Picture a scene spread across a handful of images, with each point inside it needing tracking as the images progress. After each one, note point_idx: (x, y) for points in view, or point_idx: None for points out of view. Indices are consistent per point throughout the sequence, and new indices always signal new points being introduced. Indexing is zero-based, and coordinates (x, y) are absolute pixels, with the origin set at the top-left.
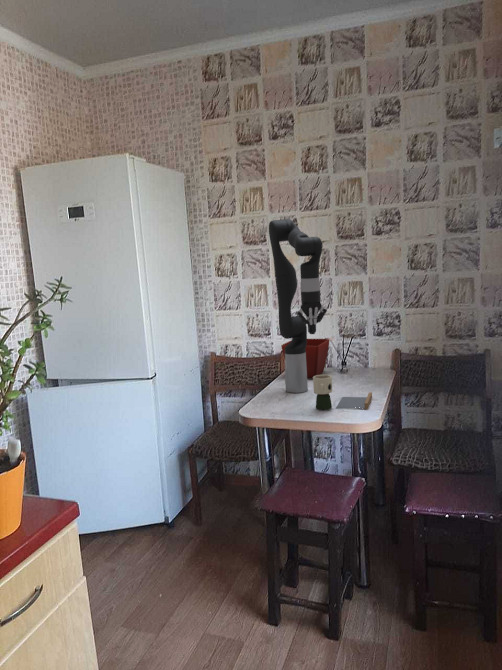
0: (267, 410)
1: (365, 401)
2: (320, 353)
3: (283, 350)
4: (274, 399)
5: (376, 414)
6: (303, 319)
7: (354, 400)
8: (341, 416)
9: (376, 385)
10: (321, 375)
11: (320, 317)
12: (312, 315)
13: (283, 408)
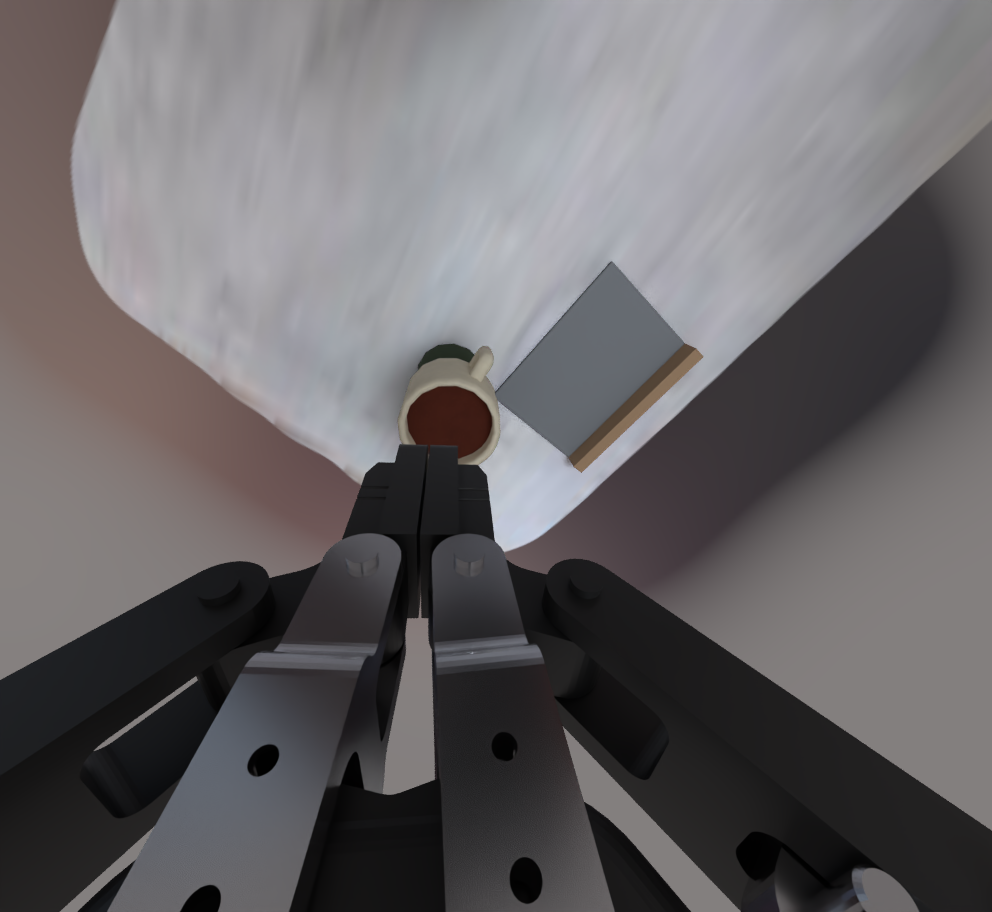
0: (204, 236)
1: (591, 450)
2: None
3: None
4: (285, 15)
5: (561, 513)
6: (112, 790)
7: (611, 349)
8: None
9: (884, 159)
10: (466, 389)
11: (618, 754)
12: (480, 744)
13: (292, 254)
